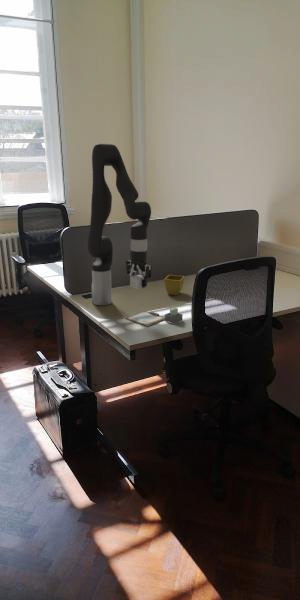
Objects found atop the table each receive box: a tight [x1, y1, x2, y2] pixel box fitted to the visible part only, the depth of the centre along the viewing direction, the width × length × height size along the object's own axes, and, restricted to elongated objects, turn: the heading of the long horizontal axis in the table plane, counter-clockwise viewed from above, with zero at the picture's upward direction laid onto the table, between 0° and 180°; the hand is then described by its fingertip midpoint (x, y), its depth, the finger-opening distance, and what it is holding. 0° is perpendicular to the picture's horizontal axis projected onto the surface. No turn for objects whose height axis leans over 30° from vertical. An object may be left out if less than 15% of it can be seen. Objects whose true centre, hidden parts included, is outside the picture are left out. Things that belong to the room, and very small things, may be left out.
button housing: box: [164, 312, 183, 324], centre depth 194 cm, size 6×6×3 cm
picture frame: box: [124, 310, 165, 328], centre depth 196 cm, size 14×13×1 cm
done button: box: [169, 307, 179, 317], centre depth 193 cm, size 4×4×4 cm
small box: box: [129, 274, 148, 290], centre depth 192 cm, size 6×6×5 cm
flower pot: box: [163, 274, 185, 296], centre depth 230 cm, size 9×9×9 cm
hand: (138, 285), depth 193 cm, fingers closed on small box, 6 cm apart
